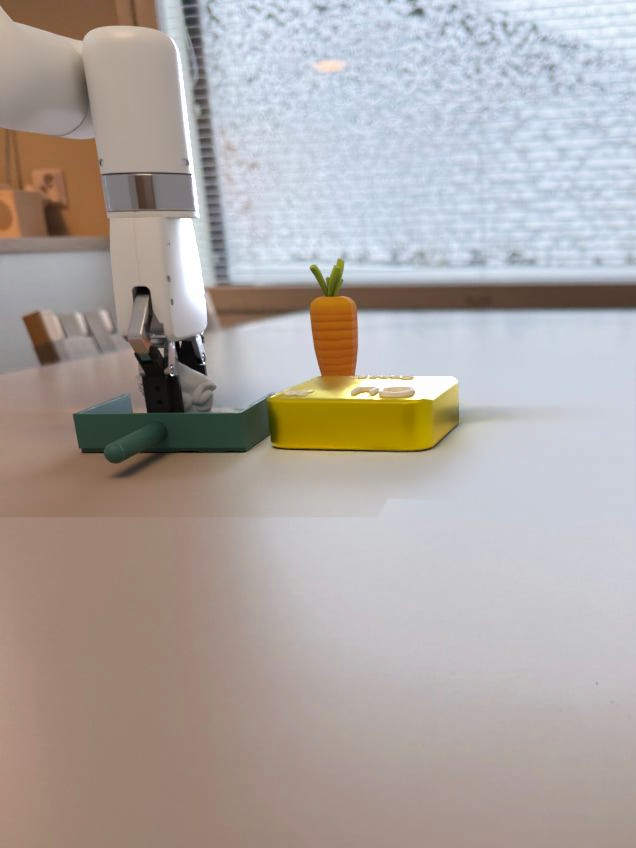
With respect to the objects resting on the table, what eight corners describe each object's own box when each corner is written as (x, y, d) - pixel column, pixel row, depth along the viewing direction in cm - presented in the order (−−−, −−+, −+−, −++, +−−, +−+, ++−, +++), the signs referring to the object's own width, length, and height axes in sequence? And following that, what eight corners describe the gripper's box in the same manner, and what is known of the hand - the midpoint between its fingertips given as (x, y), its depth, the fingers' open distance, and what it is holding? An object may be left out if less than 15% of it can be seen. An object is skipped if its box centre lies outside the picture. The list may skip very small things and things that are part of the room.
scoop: (131, 428, 94) (125, 393, 93) (278, 427, 93) (275, 392, 92) (23, 479, 75) (14, 436, 74) (207, 479, 74) (201, 435, 72)
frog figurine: (140, 432, 90) (129, 356, 87) (216, 426, 92) (207, 351, 90) (148, 444, 85) (136, 363, 82) (228, 437, 87) (218, 358, 85)
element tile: (463, 420, 95) (462, 371, 93) (429, 452, 81) (427, 395, 79) (319, 418, 97) (315, 370, 96) (263, 449, 84) (257, 393, 82)
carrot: (318, 411, 102) (306, 259, 96) (316, 403, 106) (304, 258, 100) (365, 408, 103) (355, 258, 97) (361, 401, 107) (351, 257, 101)
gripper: (147, 204, 89) (175, 400, 96) (60, 198, 73) (101, 433, 80) (226, 202, 88) (248, 399, 96) (156, 196, 73) (188, 433, 80)
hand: (180, 413), depth 88 cm, fingers closed on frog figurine, 6 cm apart
